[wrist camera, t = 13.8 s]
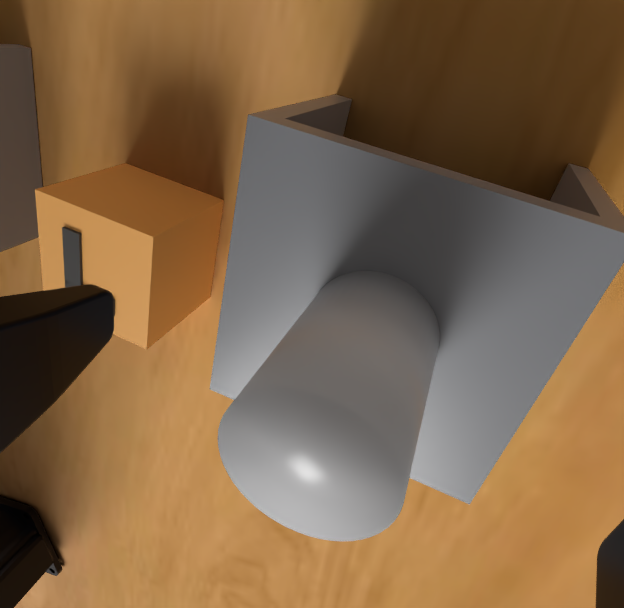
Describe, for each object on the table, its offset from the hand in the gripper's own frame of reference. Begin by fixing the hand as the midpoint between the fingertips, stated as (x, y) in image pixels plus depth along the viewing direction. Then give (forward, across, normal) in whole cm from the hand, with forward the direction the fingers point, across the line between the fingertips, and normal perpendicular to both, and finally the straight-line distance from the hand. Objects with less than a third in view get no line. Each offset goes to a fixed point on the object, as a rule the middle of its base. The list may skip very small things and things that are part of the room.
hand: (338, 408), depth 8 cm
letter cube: (+8, +9, +3) cm, 12 cm away
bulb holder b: (+8, 0, 0) cm, 8 cm away
